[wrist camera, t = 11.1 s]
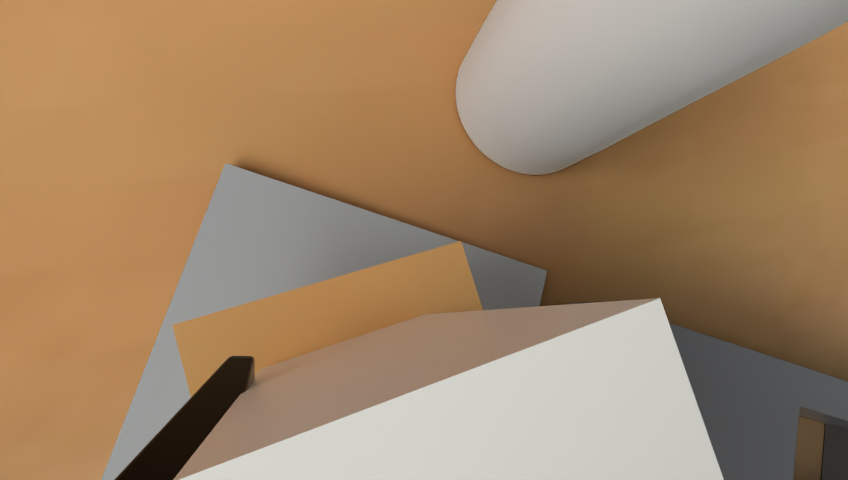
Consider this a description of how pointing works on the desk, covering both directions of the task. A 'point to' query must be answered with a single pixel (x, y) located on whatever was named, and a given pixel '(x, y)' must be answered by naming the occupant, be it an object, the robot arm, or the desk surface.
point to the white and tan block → (444, 385)
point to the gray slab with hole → (761, 408)
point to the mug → (613, 68)
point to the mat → (285, 275)
